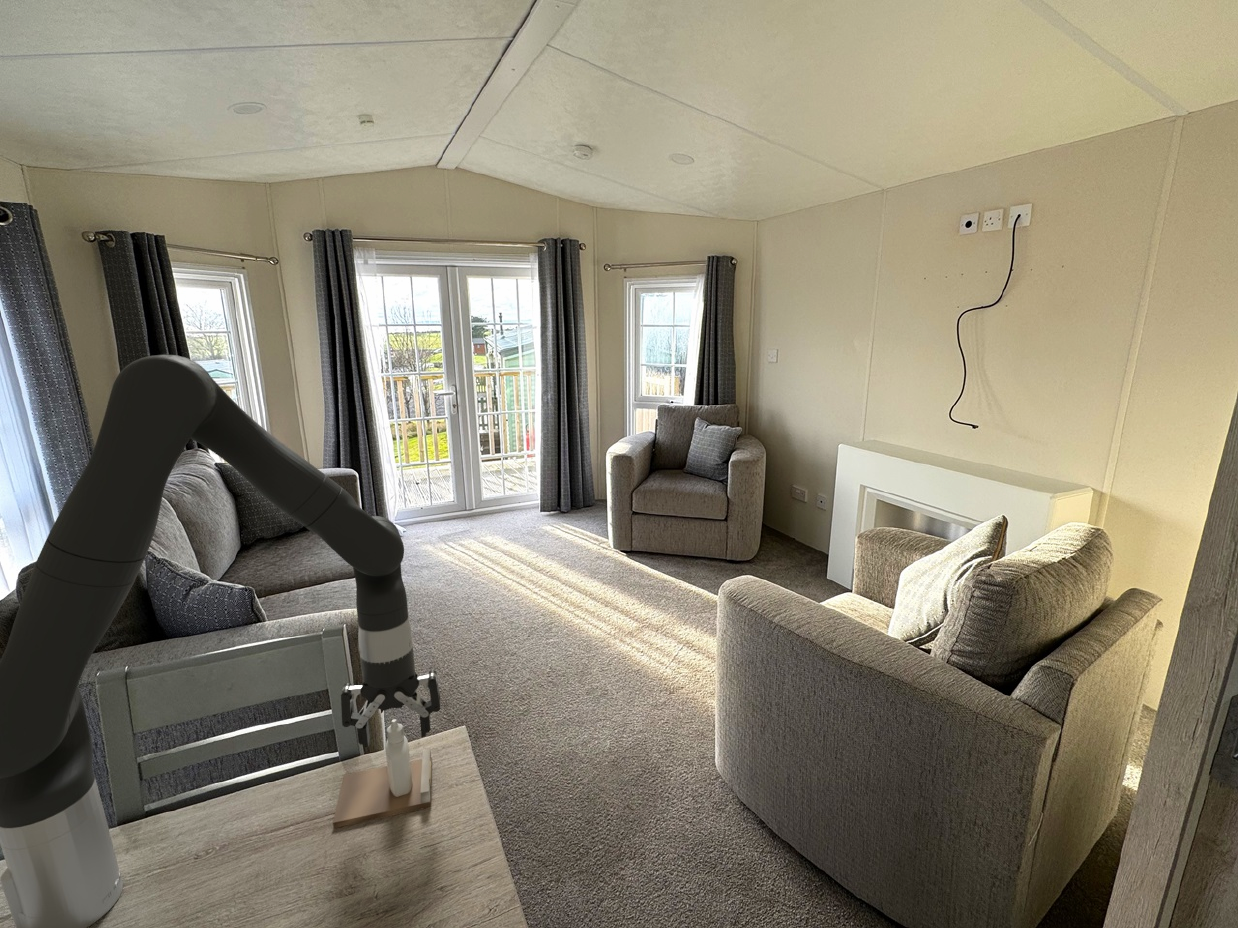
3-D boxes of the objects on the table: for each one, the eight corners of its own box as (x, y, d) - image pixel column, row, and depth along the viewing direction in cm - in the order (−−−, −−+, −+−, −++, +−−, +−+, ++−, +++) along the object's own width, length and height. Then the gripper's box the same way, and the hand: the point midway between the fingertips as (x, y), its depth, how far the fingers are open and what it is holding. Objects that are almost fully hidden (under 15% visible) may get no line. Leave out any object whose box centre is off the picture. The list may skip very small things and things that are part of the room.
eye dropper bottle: (380, 797, 93) (372, 732, 90) (395, 770, 98) (388, 708, 95) (407, 798, 93) (399, 733, 90) (421, 772, 98) (414, 709, 95)
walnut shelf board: (333, 828, 89) (331, 811, 88) (344, 779, 98) (342, 764, 97) (431, 806, 92) (429, 790, 92) (432, 761, 102) (431, 747, 101)
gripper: (435, 628, 95) (442, 716, 99) (339, 641, 91) (350, 731, 95) (435, 653, 88) (442, 746, 92) (330, 667, 84) (343, 764, 88)
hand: (395, 738), depth 93 cm, fingers open, 8 cm apart
